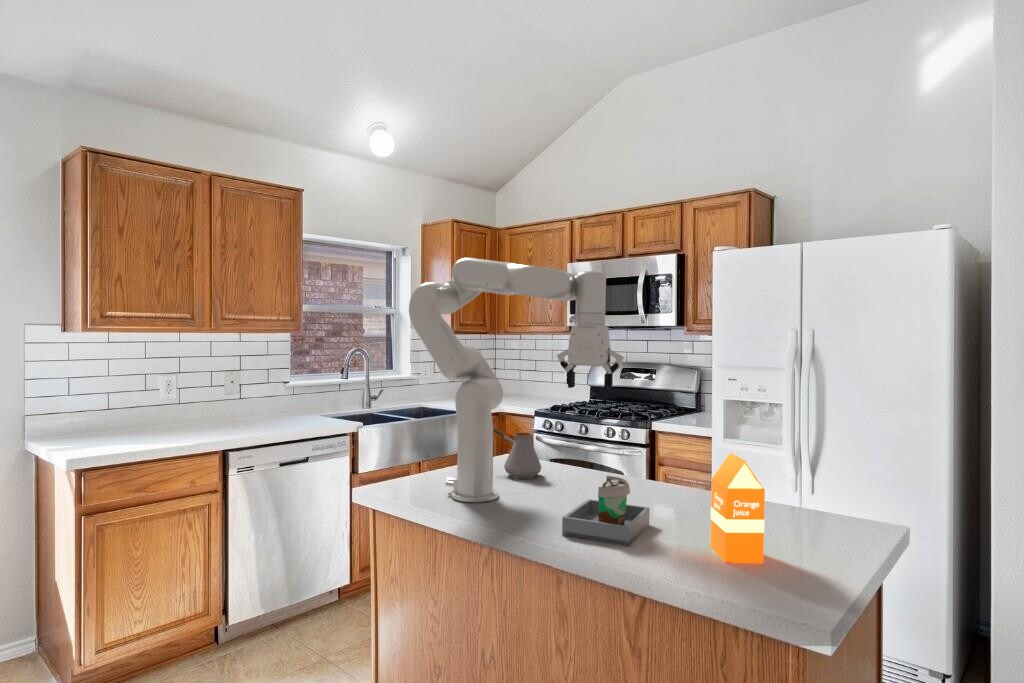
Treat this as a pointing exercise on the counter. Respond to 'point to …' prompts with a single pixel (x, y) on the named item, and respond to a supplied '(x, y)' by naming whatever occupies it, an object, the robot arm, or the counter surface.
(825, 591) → the counter surface
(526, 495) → the counter surface
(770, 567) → the counter surface
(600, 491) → the food container
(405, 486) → the counter surface
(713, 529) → the orange juice
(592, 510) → the grey bin
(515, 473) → the coffee pot
